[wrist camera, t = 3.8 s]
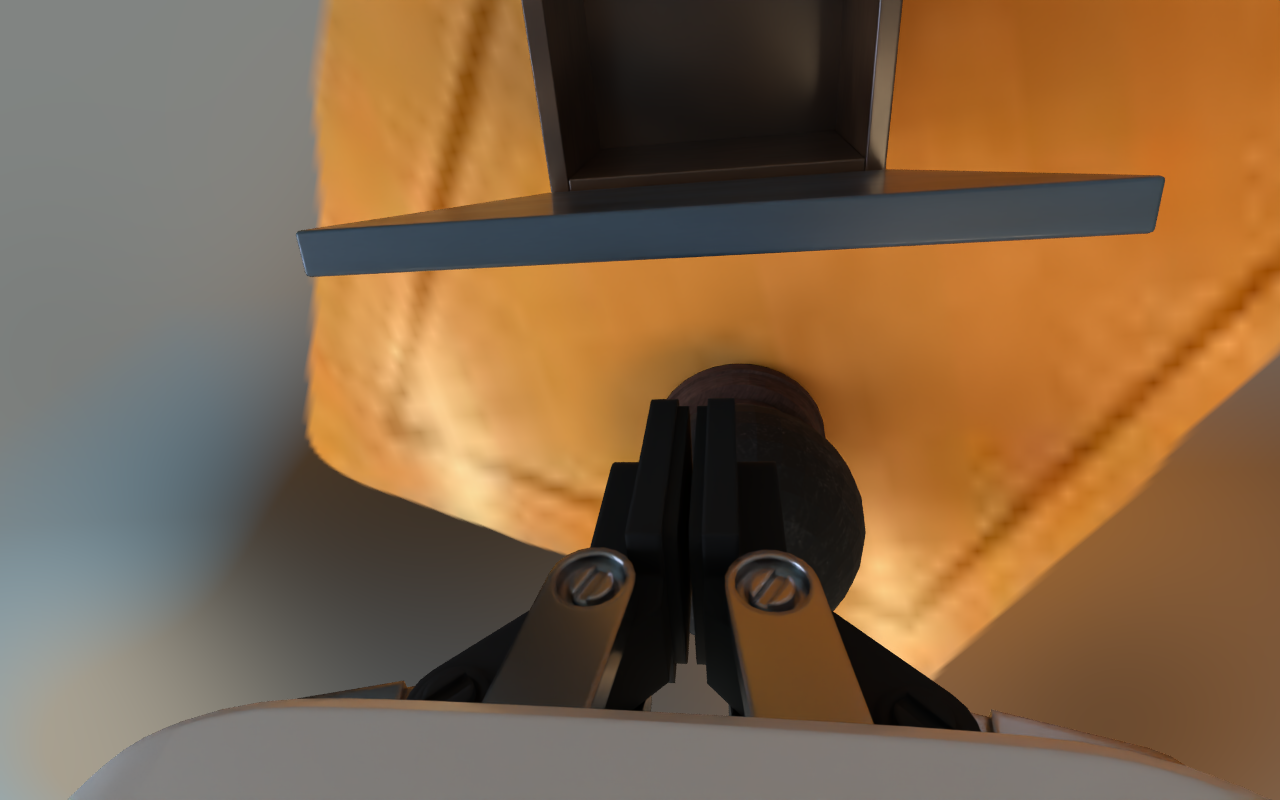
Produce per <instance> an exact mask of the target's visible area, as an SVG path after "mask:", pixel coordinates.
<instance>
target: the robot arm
mask: <svg viewBox="0 0 1280 800" xmlns="http://www.w3.org/2000/svg"><path fill="white" fill-rule="evenodd" d="M691 599H692V602H693V616H694V631H695V645H696V659H697V664H703V665H704V664H705V665H706V671H707V684H708V685H709V686H710V687H712V688H713V689H714V690H715V691H716V692H717V693H718V694H719V695H720V696H721V697H722V698H723V699H724V700H725V701H726V702H727V703H728V704H729V716H718V715H701V714H683V713H663V712H651V705H652V697H651V696H652V695H653V694H654V693H655V692H657V691H658V690H659V689H661V688H662V687H663V686H664V685H666V684H667V683H675V677H676V664H677V663H680V664H687V663H688V651H689V650H688V649H689V634H690V616H691ZM68 800H1271V799H1269V798H1266V797H1264V796H1262V795H1260V794H1257V793H1255V792H1253V791H1251V790H1249V789H1246V788H1244V787H1242V786H1239V785H1236V784H1234V783H1231V782H1228V781H1226V780H1223V779H1220V778H1217V777H1214V776H1212V775H1209V774H1206V773H1204V772H1201V771H1198V770H1196V769H1193V768H1190V767H1187V766H1185V765H1184V764H1182V763H1181V762H1179V761H1177V760H1176V759H1174V758H1173V757H1171V756H1169V755H1166V754H1163V753H1160V752H1158V751H1155V750H1153V749H1150V748H1147V747H1143V746H1139V745H1135V744H1131V743H1126V742H1123V741H1119V740H1115V739H1110V738H1106V737H1102V736H1098V735H1094V734H1090V733H1086V732H1081V731H1078V730H1073V729H1069V728H1065V727H1061V726H1057V725H1053V724H1049V723H1045V722H1040V721H1037V720H1033V719H1028V718H1024V717H1020V716H1016V715H1012V714H1008V713H1003V712H1000V711H996V710H991V712H990V715H989V717H987V716H983V715H979V714H975V713H971V712H970V711H969V710H968V708H967V707H966V706H965V705H964V704H962V703H961V702H960V701H959V700H958V699H957V698H956V697H954V696H953V695H952V694H951V693H949V692H948V691H946V690H945V689H944V688H942V687H941V686H939V685H938V684H936V683H935V682H934V681H932V680H931V679H929V678H928V677H926V676H925V675H923V674H922V673H921V672H919V671H918V670H916V669H915V668H913V667H912V666H911V665H909V664H908V663H906V662H905V661H903V660H902V659H901V658H899V657H898V656H896V655H895V654H893V653H892V652H890V651H889V650H888V649H886V648H885V647H883V646H882V645H880V644H879V643H878V642H876V641H875V640H873V639H872V638H870V637H869V636H867V635H866V634H865V633H863V632H862V631H860V630H859V629H857V628H856V627H855V626H853V625H852V624H850V623H849V622H847V621H846V620H844V619H843V618H842V617H840V616H839V615H837V614H836V613H834V612H833V611H832V610H830V607H829V604H828V602H827V599H826V596H825V594H824V591H823V588H822V586H821V583H820V581H819V578H818V577H817V575H816V573H815V572H814V570H813V568H812V567H810V566H809V565H808V564H807V563H806V562H805V561H804V560H802V559H800V558H798V557H796V556H794V555H792V554H790V553H787V548H786V540H785V532H784V523H783V515H782V507H781V499H780V491H779V482H778V474H777V466H776V462H737V455H736V421H735V398H708V405H707V406H697V416H696V430H695V444H694V458H693V457H692V440H691V423H690V409H689V406H680V404H679V399H657V400H651V404H650V409H649V414H648V419H647V424H646V429H645V434H644V439H643V444H642V449H641V454H640V459H639V462H614V463H613V464H612V467H611V470H610V474H609V478H608V481H607V485H606V489H605V493H604V497H603V501H602V504H601V508H600V512H599V516H598V520H597V524H596V527H595V531H594V535H593V539H592V543H591V547H590V548H586V549H582V550H578V551H576V552H573V553H571V554H569V555H567V556H565V557H564V558H563V559H562V560H560V561H559V562H558V563H556V565H555V566H554V567H553V569H552V570H551V571H550V573H549V574H548V577H547V578H546V580H545V582H544V584H543V586H542V588H541V590H540V592H539V594H538V595H537V597H536V599H535V601H534V603H533V605H532V607H531V609H530V610H529V611H528V612H526V613H524V614H523V615H521V616H519V617H518V618H516V619H515V620H513V621H511V622H510V623H508V624H507V625H505V626H503V627H502V628H500V629H499V630H497V631H495V632H494V633H492V634H491V635H489V636H487V637H486V638H484V639H482V640H481V641H479V642H478V643H476V644H474V645H473V646H471V647H469V648H468V649H466V650H465V651H463V652H461V653H460V654H458V655H457V656H455V657H453V658H452V659H450V660H449V661H447V662H445V663H444V664H442V665H440V666H439V667H437V668H436V669H434V670H433V671H431V672H430V673H429V674H427V675H426V676H425V677H424V678H422V679H421V680H420V681H419V682H418V683H417V684H416V686H413V687H407V686H406V684H405V682H404V681H399V682H393V683H387V684H382V685H376V686H369V687H363V688H357V689H351V690H345V691H339V692H333V693H328V694H322V695H315V696H310V697H304V698H298V699H291V700H280V701H267V702H259V703H253V704H248V705H243V706H238V707H233V708H228V709H222V710H218V711H216V712H212V713H208V714H205V715H202V716H198V717H195V718H191V719H188V720H185V721H182V722H179V723H177V724H174V725H172V726H169V727H167V728H164V729H162V730H160V731H158V732H155V733H153V734H151V735H149V736H147V737H145V738H143V739H141V740H139V741H138V742H136V743H134V744H133V745H131V746H129V747H128V748H126V749H125V750H123V751H122V752H120V753H119V754H118V755H117V756H115V757H114V758H113V759H111V760H110V761H109V762H108V763H106V764H105V765H104V766H103V767H102V768H100V769H99V770H98V771H97V772H96V773H95V774H94V775H93V776H92V777H91V778H89V779H88V780H87V781H86V782H85V783H84V784H83V785H82V786H81V787H80V788H79V789H78V790H77V791H76V792H75V793H74V794H73V795H72V796H71V797H70V798H69V799H68Z"/></svg>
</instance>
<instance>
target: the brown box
mask: <svg viewBox="0 0 1280 800" xmlns="http://www.w3.org/2000/svg"><path fill="white" fill-rule="evenodd" d="M521 1H522V7H523V14H524V20H525V27H526V33H527V39H528V46H529V52H530V58H531V65H532V71H533V78H534V84H535V90H536V97H537V103H538V109H539V116H540V122H541V128H542V135H543V141H544V148H545V154H546V160H547V167H548V173H549V179H550V186H551V192H552V193H554V192H568V191H583V190H597V189H611V188H626V187H640V186H654V185H669V184H683V183H697V182H712V181H726V180H740V179H755V178H769V177H784V176H798V175H812V174H827V173H841V172H855V171H870V170H884V169H886V159H887V150H888V140H889V130H890V120H891V111H892V101H893V91H894V81H895V71H896V62H897V52H898V42H899V32H900V23H901V13H902V3H903V0H521Z"/></svg>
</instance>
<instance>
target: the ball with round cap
mask: <svg viewBox="0 0 1280 800" xmlns="http://www.w3.org/2000/svg"><path fill="white" fill-rule="evenodd" d="M708 398H735V421H736V455H737V462H776V466H777V474H778V482H779V491H780V499H781V507H782V515H783V523H784V532H785V540H786V548H787V553H790V554H792V555H794V556H796V557H798V558H800V559H802V560H804V561H805V562H806V563H807V564H808V565H809V566H810V567H812V568H813V570H814V572H815V573H816V575H817V577H818V578H819V581H820V583H821V586H822V588H823V591H824V594H825V596H826V599H827V602H828V604H829V607H830V610H832V611H834V610H835V609H836V607H837V606H838V605H839V604H840V602H841V601H842V600H843V599H844V597H845V596H846V594H847V592H848V590H849V588H850V587H851V585H852V583H853V581H854V578H855V576H856V574H857V572H858V570H859V567H860V563H861V557H862V552H863V546H864V539H865V533H866V532H865V523H864V514H863V506H862V498H861V495H860V493H859V490H858V488H857V485H856V483H855V480H854V478H853V476H852V474H851V471H850V469H849V467H848V465H847V464H846V462H845V461H844V460H843V458H842V457H841V455H840V454H839V453H838V451H837V450H836V449H835V448H834V447H833V446H832V445H831V444H830V443H829V442H828V441H827V440H826V439H825V432H824V425H823V421H822V417H821V415H820V412H819V410H818V407H817V405H816V403H815V402H814V400H813V399H812V397H811V396H810V395H809V393H808V392H807V391H806V390H805V389H804V388H803V387H802V386H800V385H799V384H798V383H797V382H796V381H794V380H793V379H791V378H789V377H788V376H786V375H784V374H783V373H780V372H778V371H775V370H772V369H770V368H767V367H762V366H757V365H751V364H729V365H723V366H717V367H713V368H710V369H707V370H705V371H702V372H699V373H697V374H695V375H694V376H692V377H690V378H689V379H687V380H685V381H684V382H683V383H681V384H680V385H679V386H678V387H677V388H676V389H675V390H674V391H673V392H672V393H671V394H670V396H669V397H668V398H667V399H679V404H680V406H689V409H690V423H691V440H692V457H693V458H694V444H695V430H696V416H697V406H707V405H708ZM690 633H691V634H693V635H695V631H694V616H693V602H692V599H691V616H690Z"/></svg>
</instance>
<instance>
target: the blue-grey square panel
mask: <svg viewBox="0 0 1280 800" xmlns="http://www.w3.org/2000/svg"><path fill="white" fill-rule="evenodd" d="M1164 183H1165V178H1164V177H1162V176H1159V175H1115V174H1071V173H1027V172H983V171H940V170H896V169H884V170H870V171H855V172H841V173H827V174H812V175H798V176H784V177H769V178H755V179H740V180H726V181H712V182H697V183H683V184H669V185H654V186H640V187H626V188H611V189H597V190H583V191H568V192H554V193H545V194H539V195H532V196H525V197H519V198H512V199H506V200H499V201H492V202H486V203H479V204H473V205H466V206H459V207H453V208H446V209H440V210H433V211H427V212H420V213H413V214H407V215H400V216H394V217H387V218H380V219H374V220H367V221H361V222H354V223H348V224H341V225H334V226H328V227H321V228H315V229H308V230H301V231H298V232H297V233H296V237H297V241H298V245H299V249H300V253H301V257H302V261H303V265H304V269H305V273H306V275H307V276H310V277H320V276H339V275H359V274H378V273H397V272H416V271H435V270H455V269H474V268H493V267H512V266H532V265H551V264H570V263H589V262H608V261H628V260H647V259H666V258H685V257H705V256H724V255H743V254H762V253H781V252H801V251H820V250H839V249H858V248H878V247H897V246H916V245H935V244H955V243H974V242H993V241H1012V240H1031V239H1051V238H1070V237H1089V236H1108V235H1128V234H1147V233H1150V232H1153V231H1154V229H1155V226H1156V221H1157V216H1158V211H1159V206H1160V202H1161V197H1162V192H1163V187H1164Z"/></svg>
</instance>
